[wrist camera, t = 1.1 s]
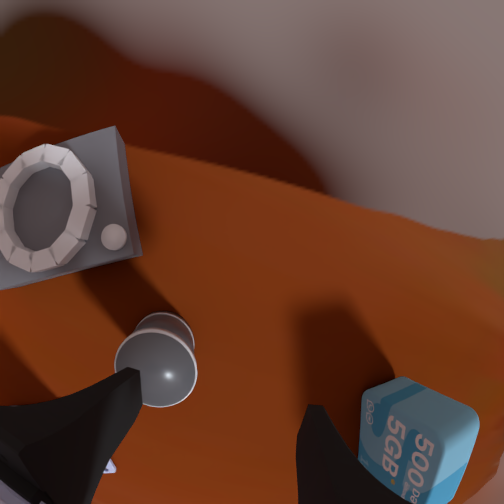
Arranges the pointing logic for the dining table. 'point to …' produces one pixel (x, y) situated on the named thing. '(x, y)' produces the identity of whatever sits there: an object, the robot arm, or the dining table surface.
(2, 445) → the robot arm
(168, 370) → the lens
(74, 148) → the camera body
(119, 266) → the dining table surface
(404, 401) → the data package
